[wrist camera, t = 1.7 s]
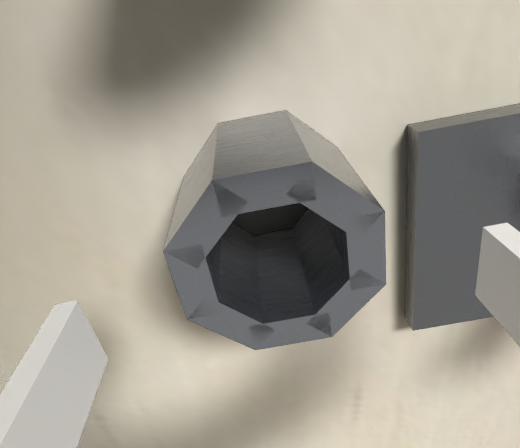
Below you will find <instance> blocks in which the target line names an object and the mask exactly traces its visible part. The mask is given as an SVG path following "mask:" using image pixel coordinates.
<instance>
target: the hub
mask: <svg viewBox="0 0 520 448" xmlns="http://www.w3.org/2000/svg"><path fill="white" fill-rule="evenodd" d="M296 203H301V204H302V205H304V206H306V207H307V208H309V209H308V210H307V211H306V212H305V214H304V215H303V216H302V217H301V218H300V220H299V221H298V222H297V223H296V224H295V226H294V227H293V228H292V229H288V230H282V231H277V232H271V233H266V234H260V235H255V236H254V235H253V234H251V233H249V232H247V231H246V230H244V229H242V228H240V227H239V226H237V225H235V224H233V223H232V221H233V220H234V219H235V217H236V216H237V215H238V214H241V213H247V212H252V211H257V210H263V209H268V208H274V207H279V206H285V205H290V204H296ZM163 253H164V255H165V258H166V261H167V264H168V267H169V269H170V272H171V275H172V278H173V281H174V283H175V286H176V289H177V292H178V295H179V297H180V300H181V303H182V306H183V309H184V311H185V314H186V317H187V319H188V320H190V321H192V322H194V323H196V324H199V325H201V326H203V327H205V328H207V329H210V330H212V331H214V332H216V333H219V334H221V335H223V336H225V337H227V338H230V339H232V340H234V341H236V342H238V343H241V344H243V345H245V346H247V347H249V348H252V349H254V350H259V349H265V348H271V347H276V346H282V345H288V344H294V343H299V342H305V341H311V340H317V339H323V338H328V337H332V336H333V335H334V334H335V333H336V332H337V331H339V330H340V329H341V328H342V327H343V326H344V325H345V324H346V323H347V322H348V321H349V320H350V319H351V318H352V317H353V316H354V315H355V314H356V313H357V312H358V311H359V310H360V309H361V308H362V307H363V306H364V305H365V304H366V303H367V302H368V301H369V300H370V299H371V298H372V297H373V296H375V295H376V294H377V293H378V292H379V291H380V290H381V289H382V288H383V287H384V286H385V285H386V254H385V211H384V209H383V208H382V207H381V205H380V204H379V203H378V201H377V200H376V199H375V197H374V196H373V194H372V193H371V192H370V190H369V189H368V188H367V186H366V185H365V184H364V182H363V181H362V180H361V178H360V177H359V176H358V174H357V173H356V172H355V170H354V169H353V167H352V166H351V165H350V163H349V162H348V161H347V159H346V158H345V157H344V155H343V154H342V153H341V151H340V150H339V149H338V147H336V146H335V145H334V144H332V143H331V142H329V141H328V140H327V139H325V138H324V137H322V136H321V135H320V134H318V133H317V132H316V131H314V130H313V129H311V128H310V127H309V126H307V125H306V124H304V123H303V122H302V121H300V120H299V119H297V118H296V117H295V116H293V115H292V114H290V113H289V112H288V111H286V110H285V111H279V112H274V113H269V114H264V115H258V116H253V117H248V118H243V119H238V120H232V121H227V122H222V123H218V124H217V126H216V128H215V129H214V131H213V132H212V134H211V135H210V137H209V138H208V140H207V141H206V143H205V145H204V146H203V148H202V149H201V151H200V152H199V154H198V155H197V157H196V158H195V160H194V162H193V163H192V165H191V166H190V168H189V169H188V171H187V172H186V174H185V175H184V178H183V181H182V185H181V189H180V192H179V196H178V199H177V203H176V207H175V210H174V214H173V218H172V221H171V225H170V228H169V232H168V236H167V239H166V243H165V246H164V250H163Z"/></svg>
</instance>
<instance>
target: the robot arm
mask: <svg viewBox="0 0 520 448" xmlns="http://www.w3.org/2000/svg"><path fill="white" fill-rule="evenodd" d="M475 295H476V297H477V298H478V299H479V300H480V301H481V302H482V304H483V305H484V306H485V307H486V308H487V309H488V311H489V312H490V313H491V314H492V315H493V316H494V318H495V319H496V320H497V321H498V322H499V323H500V325H501V326H502V327H503V328H504V329H505V330H506V331H507V333H508V334H509V335H510V336H511V337H512V338H513V340H514V341H515V342H516V343H517V344H518V345H519V347H520V232H519V231H518V230H516V229H515V228H514V227H512V226H511V225H510V224H509V223H502V224H497V225H491V226H486V227H483V231H482V240H481V248H480V257H479V266H478V274H477V283H476V292H475ZM107 362H108V358H107V356H106V354H105V352H104V350H103V348H102V346H101V344H100V342H99V340H98V338H97V336H96V334H95V332H94V330H93V328H92V327H91V325H90V323H89V321H88V319H87V317H86V315H85V313H84V311H83V309H82V307H81V305H80V303H79V301H78V300H76V301H71V302H65V303H60V304H55V305H54V307H53V309H52V310H51V312H50V314H49V315H48V317H47V319H46V320H45V322H44V323H43V325H42V327H41V328H40V330H39V332H38V333H37V335H36V337H35V338H34V340H33V342H32V343H31V345H30V347H29V348H28V350H27V351H26V353H25V355H24V356H23V358H22V360H21V361H20V363H19V365H18V366H17V368H16V370H15V371H14V373H13V374H12V376H11V378H10V379H9V381H8V383H7V384H6V386H5V388H4V389H3V391H2V393H1V394H0V448H77V446H78V443H79V440H80V438H81V435H82V432H83V429H84V426H85V424H86V421H87V418H88V415H89V412H90V410H91V407H92V404H93V401H94V398H95V396H96V393H97V390H98V387H99V384H100V382H101V379H102V376H103V373H104V370H105V368H106V365H107Z"/></svg>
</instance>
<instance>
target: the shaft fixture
mask: <svg viewBox="0 0 520 448" xmlns="http://www.w3.org/2000/svg"><path fill="white" fill-rule="evenodd" d="M502 223H509V224H510V225H511V226H512V227H514V228H515V229H516V230H518V231H519V232H520V104H515V105H509V106H504V107H499V108H493V109H488V110H483V111H477V112H472V113H467V114H461V115H456V116H451V117H446V118H440V119H435V120H430V121H424V122H419V123H414V124H408V138H407V205H406V273H405V318H406V319H407V321H408V323H409V325H410V327H411V328H412V330H419V329H425V328H430V327H436V326H442V325H448V324H454V323H459V322H465V321H471V320H477V319H483V318H488V317H494V316H493V315H492V314H491V313H490V312H489V311H488V309H487V308H486V307H485V306H484V305H483V304H482V302H481V301H480V300H479V299H478V298H477V297H476V295H475V292H476V283H477V274H478V266H479V257H480V248H481V240H482V231H483V227H486V226H491V225H497V224H502Z"/></svg>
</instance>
